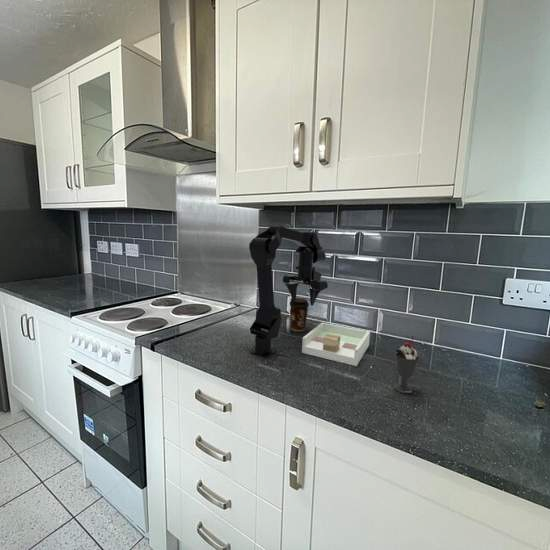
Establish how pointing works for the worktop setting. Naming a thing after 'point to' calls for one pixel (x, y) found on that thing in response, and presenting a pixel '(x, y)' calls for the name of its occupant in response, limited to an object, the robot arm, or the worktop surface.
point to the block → (331, 343)
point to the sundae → (406, 363)
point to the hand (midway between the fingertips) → (302, 303)
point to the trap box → (350, 343)
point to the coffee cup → (298, 314)
